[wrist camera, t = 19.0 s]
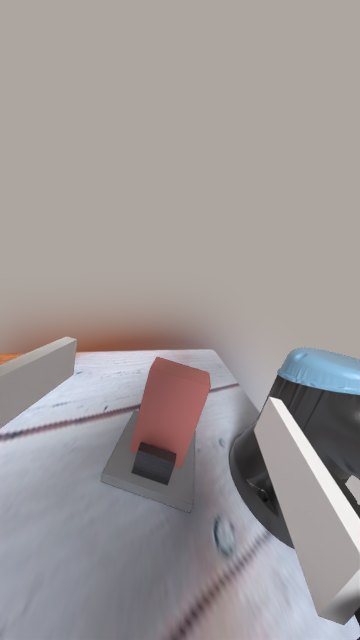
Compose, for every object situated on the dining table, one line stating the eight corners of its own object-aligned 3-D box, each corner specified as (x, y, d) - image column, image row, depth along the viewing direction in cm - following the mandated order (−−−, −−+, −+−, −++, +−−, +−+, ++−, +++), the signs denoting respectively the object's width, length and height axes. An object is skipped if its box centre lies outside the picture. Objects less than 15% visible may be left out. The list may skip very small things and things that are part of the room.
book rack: (193, 436, 32) (201, 413, 31) (189, 513, 22) (202, 481, 20) (132, 416, 33) (138, 392, 32) (100, 481, 22) (107, 448, 21)
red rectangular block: (183, 446, 28) (209, 372, 25) (181, 468, 25) (210, 386, 22) (137, 430, 29) (156, 356, 26) (128, 450, 25) (150, 367, 22)
